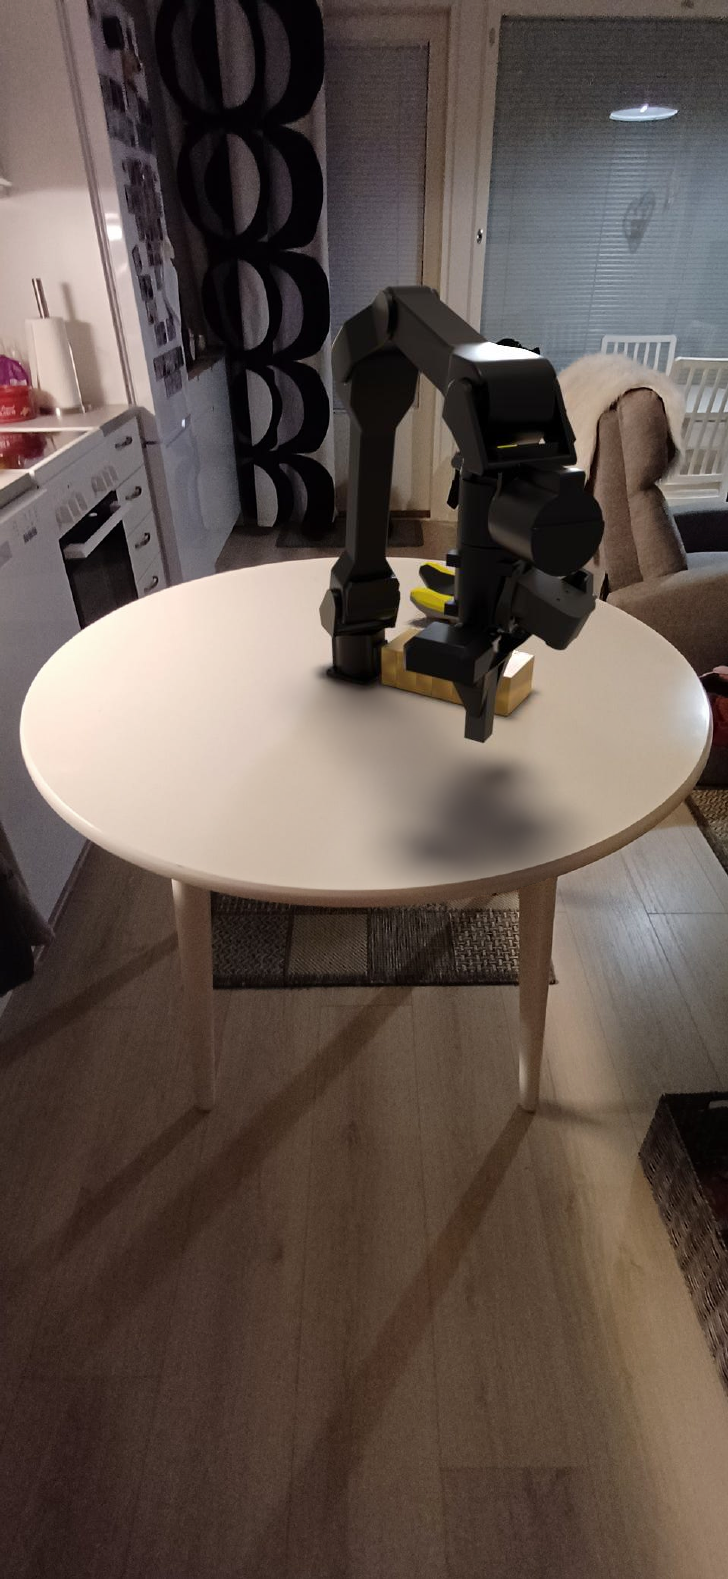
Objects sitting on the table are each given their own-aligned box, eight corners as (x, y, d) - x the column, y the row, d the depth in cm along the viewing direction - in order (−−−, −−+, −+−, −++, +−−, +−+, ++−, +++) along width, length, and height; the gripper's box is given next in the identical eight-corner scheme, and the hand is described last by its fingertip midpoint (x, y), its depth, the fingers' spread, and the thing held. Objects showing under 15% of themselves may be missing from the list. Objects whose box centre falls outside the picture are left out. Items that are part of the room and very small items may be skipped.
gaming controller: (407, 627, 113) (476, 631, 112) (408, 591, 110) (478, 594, 109) (419, 592, 126) (481, 594, 124) (420, 558, 123) (484, 560, 121)
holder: (381, 683, 98) (381, 647, 95) (409, 663, 103) (409, 627, 100) (507, 716, 91) (510, 677, 88) (530, 692, 96) (535, 655, 93)
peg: (463, 738, 71) (469, 647, 66) (473, 728, 73) (479, 639, 68) (483, 743, 70) (490, 651, 65) (492, 734, 72) (500, 643, 67)
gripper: (545, 590, 51) (523, 786, 60) (628, 523, 64) (600, 691, 73) (400, 565, 56) (398, 748, 65) (504, 506, 69) (491, 666, 78)
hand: (479, 711), depth 70 cm, fingers closed on peg, 2 cm apart
